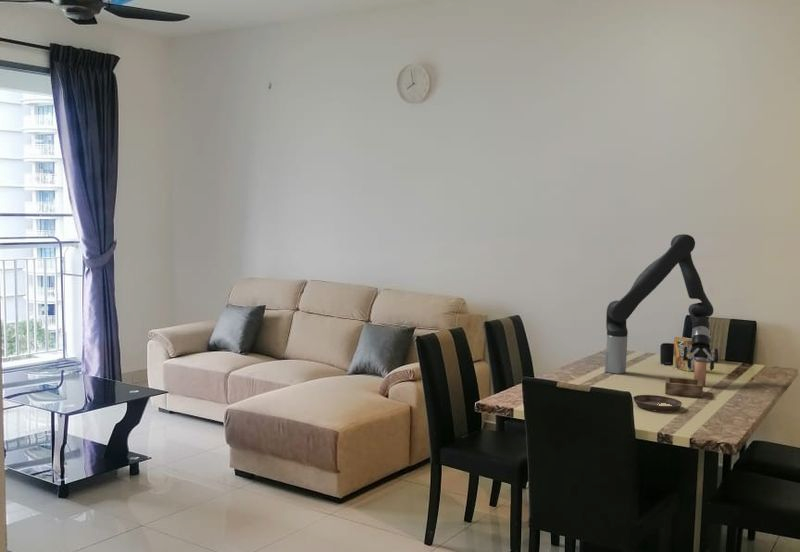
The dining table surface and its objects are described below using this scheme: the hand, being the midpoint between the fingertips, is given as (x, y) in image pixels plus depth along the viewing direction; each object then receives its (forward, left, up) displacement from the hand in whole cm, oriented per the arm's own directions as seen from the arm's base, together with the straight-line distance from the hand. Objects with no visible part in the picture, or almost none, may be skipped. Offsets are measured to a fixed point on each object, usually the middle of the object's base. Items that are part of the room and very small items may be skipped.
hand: (700, 368), depth 328 cm
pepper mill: (0, 0, -7) cm, 7 cm away
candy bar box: (+3, +68, -8) cm, 68 cm away
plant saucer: (-17, -50, -8) cm, 53 cm away
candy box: (-6, +36, -8) cm, 37 cm away
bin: (-7, -19, -7) cm, 22 cm away
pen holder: (-12, +47, -8) cm, 49 cm away
